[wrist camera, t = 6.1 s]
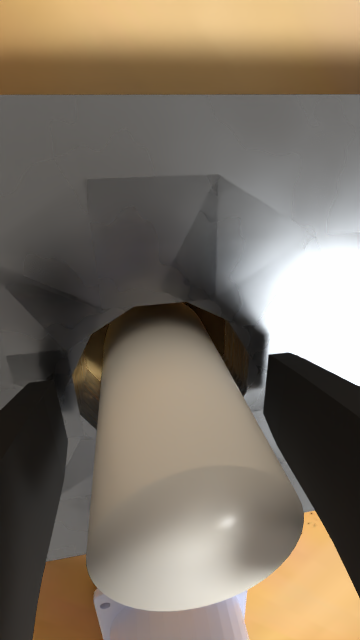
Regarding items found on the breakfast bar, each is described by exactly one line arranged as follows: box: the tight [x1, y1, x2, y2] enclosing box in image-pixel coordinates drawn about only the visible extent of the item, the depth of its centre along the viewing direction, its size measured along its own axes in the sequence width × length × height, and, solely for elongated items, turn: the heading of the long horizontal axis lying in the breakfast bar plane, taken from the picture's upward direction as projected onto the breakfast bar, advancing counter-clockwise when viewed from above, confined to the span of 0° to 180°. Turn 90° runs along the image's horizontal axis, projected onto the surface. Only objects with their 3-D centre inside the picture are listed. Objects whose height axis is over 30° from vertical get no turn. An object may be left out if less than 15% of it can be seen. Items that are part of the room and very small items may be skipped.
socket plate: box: [0, 94, 360, 562], centre depth 11 cm, size 14×18×2 cm
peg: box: [86, 302, 304, 611], centre depth 8 cm, size 4×4×7 cm
